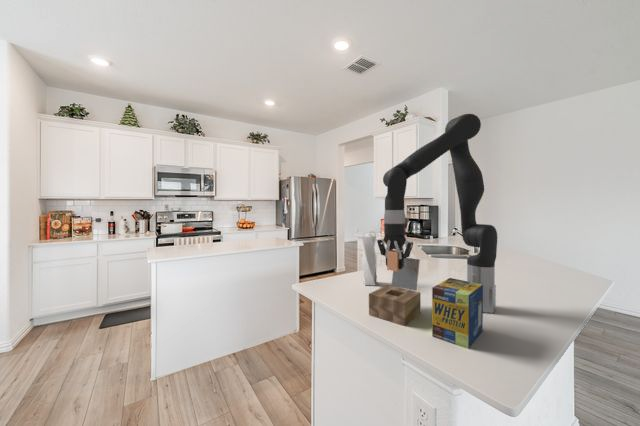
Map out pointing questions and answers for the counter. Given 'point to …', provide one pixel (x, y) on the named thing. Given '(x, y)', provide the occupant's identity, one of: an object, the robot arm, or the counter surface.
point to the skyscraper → (369, 260)
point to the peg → (392, 260)
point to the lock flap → (407, 275)
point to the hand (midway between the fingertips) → (394, 267)
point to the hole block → (395, 304)
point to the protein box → (457, 311)
